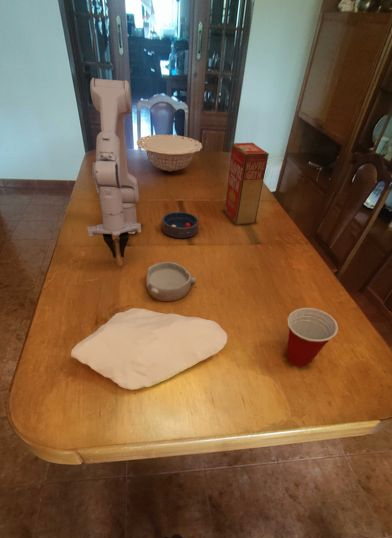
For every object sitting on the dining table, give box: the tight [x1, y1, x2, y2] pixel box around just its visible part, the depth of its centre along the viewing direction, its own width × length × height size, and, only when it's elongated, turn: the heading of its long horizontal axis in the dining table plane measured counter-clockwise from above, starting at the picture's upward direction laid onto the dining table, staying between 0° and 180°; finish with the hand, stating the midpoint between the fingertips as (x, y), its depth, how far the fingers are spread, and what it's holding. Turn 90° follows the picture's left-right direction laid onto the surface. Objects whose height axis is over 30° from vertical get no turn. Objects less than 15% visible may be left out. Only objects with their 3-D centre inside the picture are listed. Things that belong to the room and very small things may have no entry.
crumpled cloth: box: [70, 307, 229, 391], centre depth 73 cm, size 24×35×9 cm
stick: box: [113, 238, 123, 267], centre depth 94 cm, size 2×2×8 cm
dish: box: [145, 261, 197, 302], centre depth 93 cm, size 14×14×5 cm
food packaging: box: [223, 142, 270, 226], centre depth 122 cm, size 13×9×25 cm
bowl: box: [161, 211, 200, 239], centre depth 118 cm, size 13×13×4 cm
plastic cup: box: [285, 307, 339, 368], centre depth 74 cm, size 11×11×12 cm
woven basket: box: [136, 134, 203, 173], centre depth 157 cm, size 32×32×13 cm
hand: (118, 255), depth 95 cm, fingers closed on stick, 2 cm apart
